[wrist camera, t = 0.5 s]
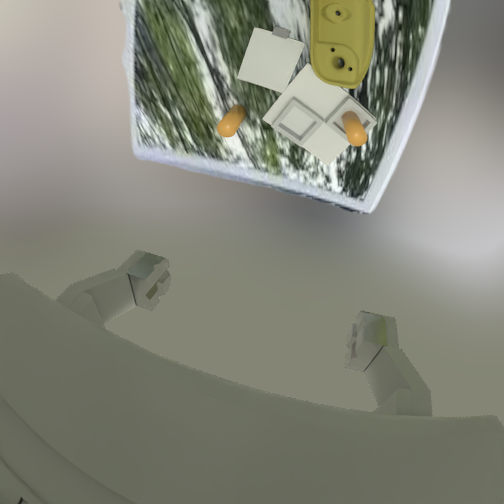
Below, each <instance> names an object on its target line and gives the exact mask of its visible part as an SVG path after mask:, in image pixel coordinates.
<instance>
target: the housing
mask: <svg viewBox="0 0 504 504" xmlns="http://www.w3.org/2000/svg"><path fill="white" fill-rule="evenodd" d="M262 119H263V120H264V121H266V122H267V123H269V124H270V125H271V127H273V128H274V129H276V130H277V131H279V132H280V133H282V134H283V135H284V136H286V137H287V138H289V139H290V140H292V141H293V142H295V143H296V144H297V145H299V146H300V147H304V148H305V149H306V150H308V151H309V152H310V153H312V154H313V155H314V156H316V157H317V158H318V159H320V160H321V161H322V162H324V163H325V164H326V165H329V164H330V163H331V162H332V161H333V160H334V159H335V158H336V157H337V156H338V155H339V154H341V153H342V152H343V151H344V150H345V149H346V148H347V147H348V146H349V145H350V144H351V145H352V146H362V145H363V144H365V142H366V141H367V134H366V133H368V132H369V131H370V130H371V129H372V128H373V127H374V126H375V125H376V124H377V121H376V118H375V117H374V116H373V115H372V114H371V113H370V112H369V111H368V110H367V109H366V108H365V107H363V106H362V105H361V104H360V103H359V102H358V101H357V100H356V99H354V98H353V97H352V96H351V95H350V94H348V93H347V92H346V91H345V90H344V89H342V88H341V87H339V86H333V85H330V84H327V83H325V82H323V81H322V80H320V79H319V78H318V77H317V76H316V74H315V73H314V71H313V69H312V65H311V64H309V63H308V62H307V64H306V65H305V66H304V67H303V68H302V69H301V71H300V72H299V73H298V74H297V75H296V77H295V78H294V79H293V80H292V81H291V83H290V84H289V85H288V86H287V88H286V89H285V90H284V92H283V93H282V94H281V95H280V96H279V97H278V99H277V100H276V101H275V103H274V104H273V105H272V106H271V108H270V109H269V110H268V112H267V113H266V114H265V115H264V117H263V118H262Z"/></svg>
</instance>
